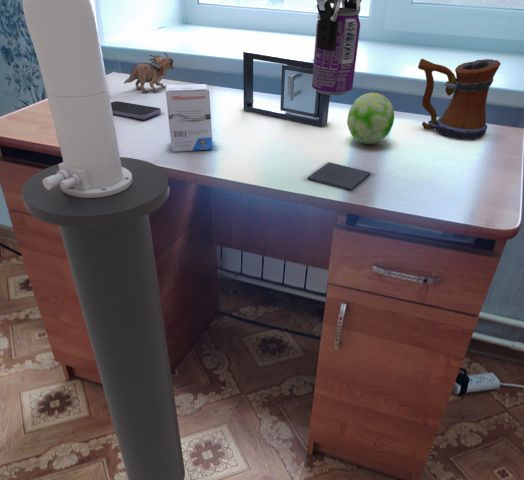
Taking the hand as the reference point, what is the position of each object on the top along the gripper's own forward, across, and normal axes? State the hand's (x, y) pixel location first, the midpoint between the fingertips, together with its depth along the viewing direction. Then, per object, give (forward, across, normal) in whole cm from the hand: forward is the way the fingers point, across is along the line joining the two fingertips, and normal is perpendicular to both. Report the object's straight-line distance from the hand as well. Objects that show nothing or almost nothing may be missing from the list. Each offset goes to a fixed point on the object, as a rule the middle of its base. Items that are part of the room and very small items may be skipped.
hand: (336, 44), depth 84 cm
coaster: (+22, 0, +4) cm, 22 cm away
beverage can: (+7, 0, 0) cm, 7 cm away
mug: (+22, -38, +13) cm, 46 cm away
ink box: (+22, +4, -29) cm, 37 cm away
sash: (+20, -22, -19) cm, 35 cm away
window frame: (+22, -25, -23) cm, 41 cm away
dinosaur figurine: (+22, -24, -65) cm, 73 cm away
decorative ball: (+22, -20, +1) cm, 30 cm away
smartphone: (+22, -6, -56) cm, 61 cm away
